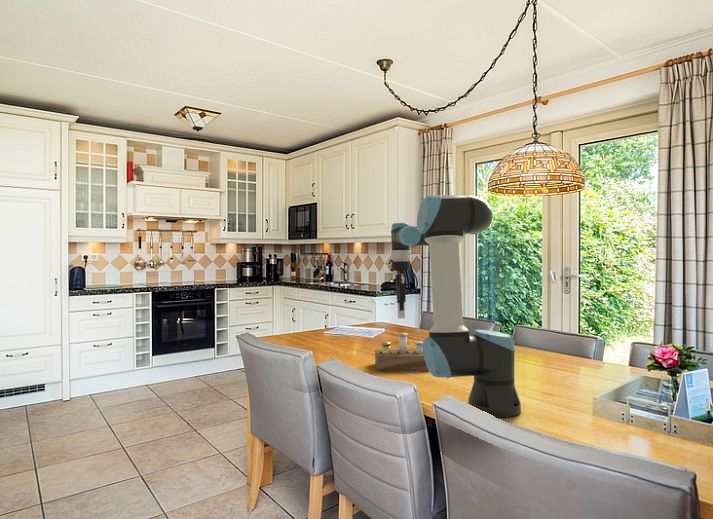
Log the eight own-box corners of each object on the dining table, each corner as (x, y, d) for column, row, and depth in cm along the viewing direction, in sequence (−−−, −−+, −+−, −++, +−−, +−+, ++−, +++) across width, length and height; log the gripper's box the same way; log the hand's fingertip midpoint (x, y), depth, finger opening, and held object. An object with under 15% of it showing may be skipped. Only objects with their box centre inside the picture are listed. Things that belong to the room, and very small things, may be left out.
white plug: (408, 355, 185) (408, 334, 185) (398, 356, 185) (398, 334, 185) (407, 353, 189) (407, 332, 189) (397, 353, 189) (397, 332, 189)
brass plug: (391, 365, 185) (391, 343, 185) (381, 365, 185) (381, 343, 185) (390, 362, 189) (390, 341, 189) (380, 362, 189) (380, 341, 189)
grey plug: (425, 364, 185) (425, 342, 185) (415, 364, 185) (415, 343, 185) (424, 361, 190) (423, 340, 189) (413, 362, 189) (413, 341, 189)
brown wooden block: (432, 370, 182) (432, 355, 182) (377, 371, 181) (377, 356, 181) (426, 362, 194) (426, 348, 194) (375, 363, 193) (375, 349, 193)
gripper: (412, 260, 180) (413, 320, 180) (407, 260, 193) (407, 315, 193) (393, 261, 180) (394, 320, 180) (389, 260, 193) (390, 316, 193)
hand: (401, 318), depth 187 cm, fingers closed
